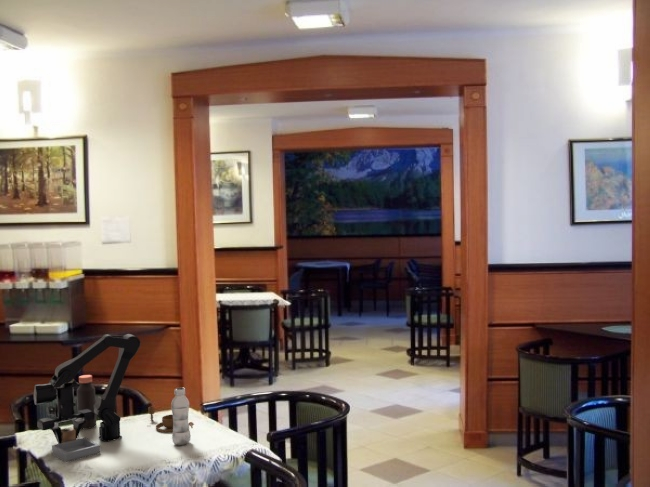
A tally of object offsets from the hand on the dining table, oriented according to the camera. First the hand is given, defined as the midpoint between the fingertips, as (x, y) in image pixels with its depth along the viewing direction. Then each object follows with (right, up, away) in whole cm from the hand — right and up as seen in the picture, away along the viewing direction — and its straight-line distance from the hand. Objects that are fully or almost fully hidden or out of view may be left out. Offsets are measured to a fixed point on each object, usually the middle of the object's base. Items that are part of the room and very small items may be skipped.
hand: (67, 442), depth 246 cm
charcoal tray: (+6, -1, -8) cm, 10 cm away
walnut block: (0, -1, 0) cm, 1 cm away
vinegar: (-1, 0, +23) cm, 23 cm away
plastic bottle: (+41, -1, 0) cm, 41 cm away
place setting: (+32, 0, +23) cm, 39 cm away
